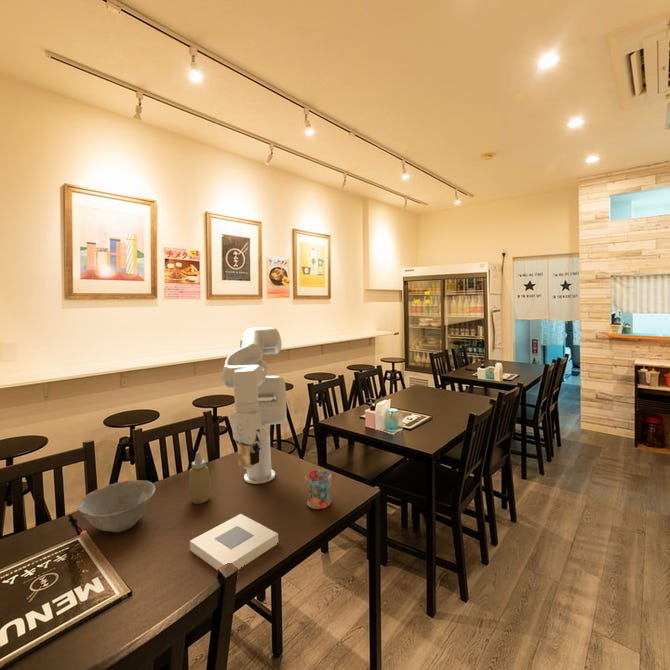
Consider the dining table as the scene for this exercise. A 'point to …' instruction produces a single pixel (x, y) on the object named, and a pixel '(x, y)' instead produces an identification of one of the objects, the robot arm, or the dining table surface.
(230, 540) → the base board
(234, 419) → the robot arm
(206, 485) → the squeeze bottle
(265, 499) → the dining table surface
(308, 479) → the mug
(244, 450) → the maple block
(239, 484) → the dining table surface
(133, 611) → the dining table surface
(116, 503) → the ceramic bowl
